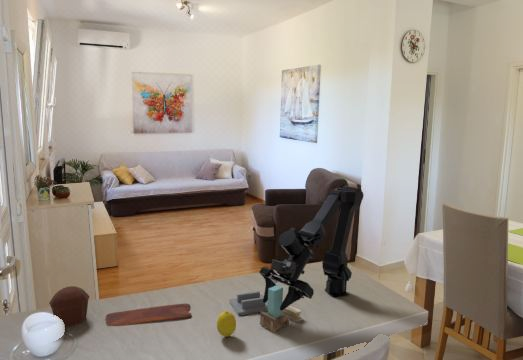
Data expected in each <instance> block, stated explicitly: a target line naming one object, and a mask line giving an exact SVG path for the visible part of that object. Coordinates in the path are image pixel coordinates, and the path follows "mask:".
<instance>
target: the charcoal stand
mask: <svg viewBox="0 0 523 360" xmlns="http://www.w3.org/2000/svg"><path fill="white" fill-rule="evenodd" d="M263 298H264V294H261V292H260V290H258V291H251V292H250V291H249V292H242V293H237V294H236V297H235V298H230V299H229V304H230V305H231V307H232V308H233V309H234V311H235V313H236V314H237V316H245V315H249V314H257V313H261V312H268V301H267V302H266V303H264V302H263Z"/></svg>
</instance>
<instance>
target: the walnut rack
mask: <svg viewBox="0 0 523 360" xmlns="http://www.w3.org/2000/svg"><path fill="white" fill-rule="evenodd" d="M288 317H289V315H288V314H284V315H282V316H280V317H278V318H275V317H273V316H271V315H269V314H268V312H266V311H264V312H260V318H259V319H260V322H259V324H260V326H261V327H263V328H266V329H267V330H270V331H271V332H272V333H273V332H274V333H276V332H277V331H278V330H279V329H281V328H283V327H285V326H289V325H290V319H288Z"/></svg>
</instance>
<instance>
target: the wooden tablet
mask: <svg viewBox="0 0 523 360" xmlns="http://www.w3.org/2000/svg"><path fill="white" fill-rule="evenodd" d="M191 309H192V308H191V304H189V303H177V304H168V305H166V304H165V305H158V306H153V307H145V308H137V309H131V310H129V309H128V310H123V311H116V312H110V313H107V314H106V315H105V319H104V321H105V325H106V326H107V327H122V326H123V327H124V326H128V325H129V326H130V325H136V324H137V325H138V324H144V323H152V322H153V323H154V322H164V321H165V322H166V321H175V320H183V319H188V318H189V319H190V318H192V317H193V316H192V313H191V312H190V311H191Z"/></svg>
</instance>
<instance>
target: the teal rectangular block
mask: <svg viewBox="0 0 523 360" xmlns="http://www.w3.org/2000/svg"><path fill="white" fill-rule="evenodd" d="M283 294H284V286H281V285H278V284H276V286H274V287H271V288H269V289H268V311H267V313H268V314H269V315H271V316H273V317H275V318H278V317H280V316H282V311H281V310H280V307H281V304H282V302H283V301H284V295H283Z"/></svg>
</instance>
